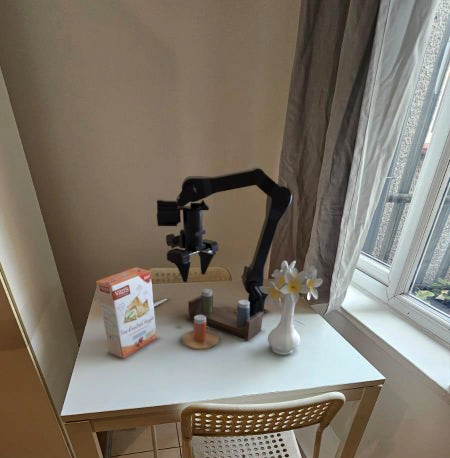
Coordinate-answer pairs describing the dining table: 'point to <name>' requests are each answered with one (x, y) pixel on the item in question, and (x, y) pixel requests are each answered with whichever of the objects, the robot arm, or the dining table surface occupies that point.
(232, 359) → the dining table surface
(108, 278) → the cracker box
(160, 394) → the dining table surface
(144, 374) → the dining table surface
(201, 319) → the terracotta shaker
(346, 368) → the dining table surface
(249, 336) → the spice shelf
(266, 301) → the flower vase
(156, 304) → the butter knife
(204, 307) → the cylinder
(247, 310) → the cylinder
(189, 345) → the cork trivet
